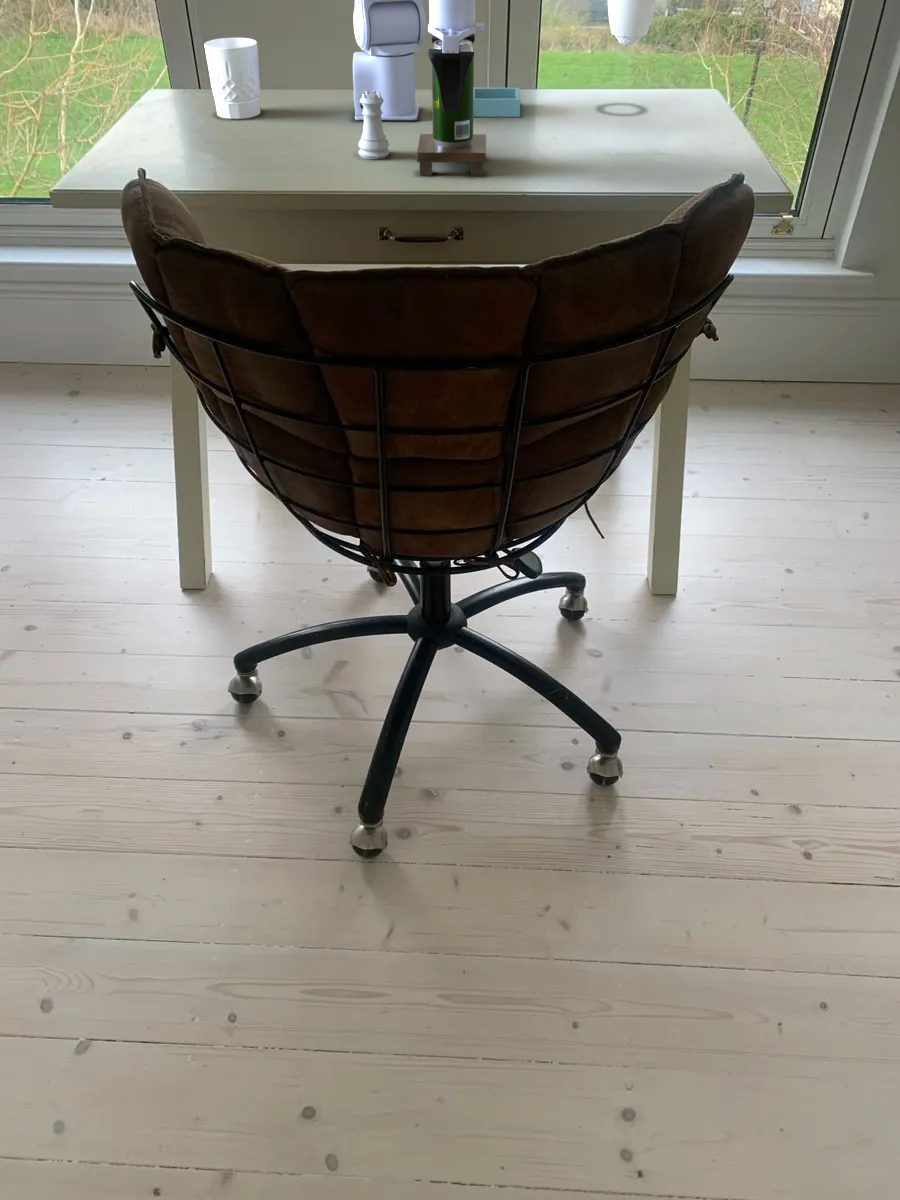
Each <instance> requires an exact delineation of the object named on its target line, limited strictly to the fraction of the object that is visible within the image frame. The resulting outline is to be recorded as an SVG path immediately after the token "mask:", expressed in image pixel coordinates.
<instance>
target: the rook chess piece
mask: <svg viewBox="0 0 900 1200" xmlns="http://www.w3.org/2000/svg"><path fill="white" fill-rule="evenodd" d="M383 102H384V100H383V99H382V97H381V93H380V92H377V95H376V91H372V94H370V93H369V91H366V94H365V92H363V93H362V98H361V99H360V103H361V104H362V105H363V108H364V109H363V112H362V114H363V115H364V120H363V126H362V127H363V128H362V134H361V136H360V140H359V141H358V142H357V143H358V145H357V146H358V148H359V150H358V151H357V153H358V155H359V157H360V158H363V159H365V160H366V159H367V160H380V159H384V158H385V159H386V158H387V157H388V156H389V154H390V153H391V151H390V149H389V146H390V143H389V140H388V139H387V136H386V134H385V132H384V128H383V120H381V115H382V113H383V112H382V111H381V105H382V103H383Z"/></svg>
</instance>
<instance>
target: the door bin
mask: <svg viewBox="0 0 900 1200" xmlns="http://www.w3.org/2000/svg"><path fill="white" fill-rule="evenodd" d="M475 117H477V118H480V117H485V118H486V117H487V118H490V117H491V118H498V117H499V118H500V117H501V118H503V117H504V118H521V90H520V87H474V106H473V118H475Z"/></svg>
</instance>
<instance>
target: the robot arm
mask: <svg viewBox="0 0 900 1200" xmlns="http://www.w3.org/2000/svg"><path fill="white" fill-rule="evenodd" d="M428 7H429V8H428V11H429V12H428V16H429V19H428V22H429V23H428V24H427V21H426V13H425V9H424V0H354V9H353V15H352V16H353V18H352V21H353V33H354V37H355V41H356V44H357V46H358V47H359V48H360V50H362V51H355V52H354V53H353V54H352V55H353V56H352V81H353V82H352V83H353V105H354V120H356V121H364V115H363V114H362V112H363V109H364V108H363V105H362V104H361V103H360V99H361V98H362V93H363V92H365V94H366V91H369V93H370V94H372V91H376V95H377V92H380V93H381V97H382V99H383V100H384V102H383V103H382V105H381V111H382V112H383V113H382V115H381V121H417V120H418V116H419V110H420V104H416V70H415V66H416V63H415V53H418V52H419V47H421V46H422V45H423V42H424V41H425V38H426V34H427V33H426V32H428V33H429V34H431V35H432V37H431V43H432V45H433V46H434V42H435V41H438V40H442V49H433V48H429V49H428V52H427V53H428V54H427V56H428V58H429V61H430V63H431V66H432V65H433V67H434V70H435V73H436V76H437V80H438V85H439V91H440V98H441V103H442V108H443V111H449V112H459V111H460V107H461V103H462V97H463V90H464V83H465V78H466V74H467V71H468V68H469V66H470V63H471V61H472V59H473V56H474V57H475V51H474V52H460V49H459V41H460V40H462V39H463V40H468V41H471V42H472V46H473V44H474V43H475V41H476V40H475V39H476V38H475V37H476V35H475V33H483V32H484V31H485V23H484V22H476V0H428Z"/></svg>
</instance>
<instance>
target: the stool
mask: <svg viewBox="0 0 900 1200" xmlns="http://www.w3.org/2000/svg"><path fill="white" fill-rule="evenodd" d="M416 162H417V163H419V176H420V177H421V176H423V177H424V176H425V177H426V176H427V177H428V176H429V177H430V176H432V175H433V163H470V164H471V165H470V168H471V170H470V176H472V177H484V163H487V134H486V133H485V134H484V133H473V139H472V141H471V144H470V145H468V146H465V147H460V148H446V147H441V146H438V145H436V144H435V141H434V139H433V133H420V134H419V139H418V144H417V151H416Z"/></svg>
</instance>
